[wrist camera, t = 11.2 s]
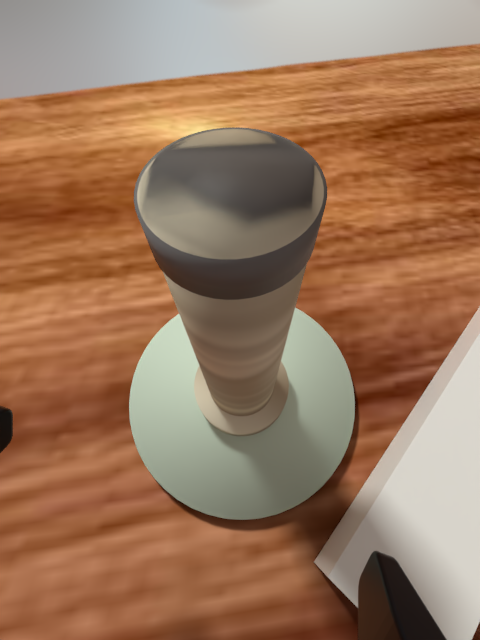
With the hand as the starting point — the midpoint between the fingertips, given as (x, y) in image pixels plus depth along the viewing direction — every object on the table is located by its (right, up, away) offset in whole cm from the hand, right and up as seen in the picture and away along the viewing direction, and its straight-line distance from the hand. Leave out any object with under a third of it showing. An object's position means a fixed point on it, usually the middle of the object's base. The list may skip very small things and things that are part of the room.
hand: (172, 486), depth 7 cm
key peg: (+2, 0, +8) cm, 9 cm away
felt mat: (+2, 0, +9) cm, 9 cm away
